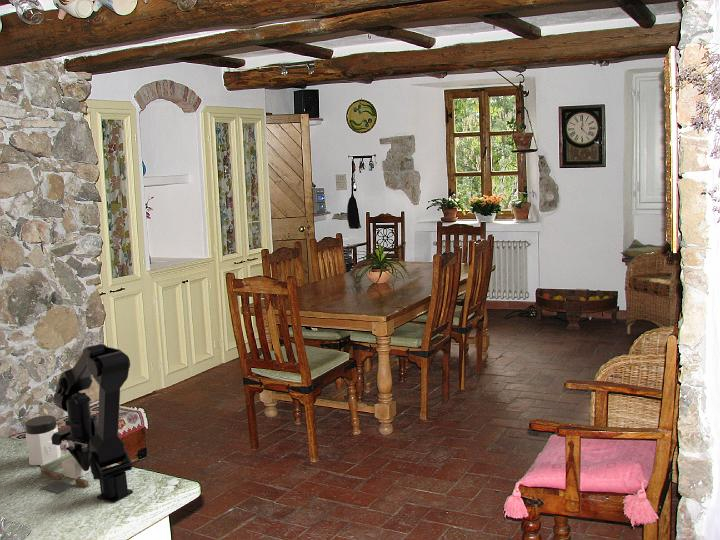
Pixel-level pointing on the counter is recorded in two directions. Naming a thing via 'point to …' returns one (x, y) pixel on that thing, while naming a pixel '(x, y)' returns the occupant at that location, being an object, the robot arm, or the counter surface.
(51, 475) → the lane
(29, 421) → the jar
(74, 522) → the counter surface
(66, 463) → the block
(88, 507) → the counter surface
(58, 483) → the mat
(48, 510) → the counter surface
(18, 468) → the counter surface
